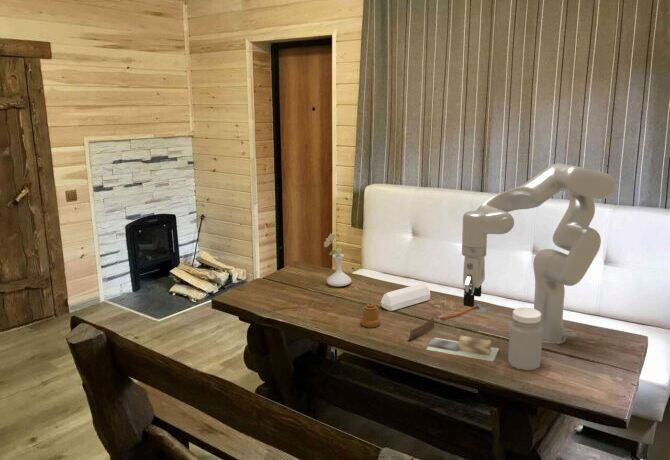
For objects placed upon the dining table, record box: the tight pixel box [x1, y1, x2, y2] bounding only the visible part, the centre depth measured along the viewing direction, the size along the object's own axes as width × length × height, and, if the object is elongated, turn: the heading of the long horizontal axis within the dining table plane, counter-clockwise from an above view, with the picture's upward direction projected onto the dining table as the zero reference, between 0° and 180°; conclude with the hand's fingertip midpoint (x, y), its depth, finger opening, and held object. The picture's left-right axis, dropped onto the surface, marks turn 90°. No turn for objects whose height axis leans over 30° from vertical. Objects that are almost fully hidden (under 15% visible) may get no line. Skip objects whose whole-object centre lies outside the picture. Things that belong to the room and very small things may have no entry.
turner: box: [427, 335, 492, 356], centre depth 186 cm, size 20×5×4 cm, turn 63°
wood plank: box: [407, 317, 435, 341], centre depth 198 cm, size 15×2×5 cm, turn 137°
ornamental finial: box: [360, 303, 381, 329], centre depth 209 cm, size 8×8×8 cm
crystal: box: [380, 282, 431, 312], centre depth 229 cm, size 7×7×24 cm
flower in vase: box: [323, 231, 352, 287], centre depth 251 cm, size 13×11×25 cm
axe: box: [440, 303, 492, 321], centre depth 216 cm, size 22×6×2 cm, turn 126°
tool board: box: [425, 337, 500, 362], centre depth 186 cm, size 22×10×1 cm, turn 63°
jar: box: [507, 306, 543, 371], centre depth 174 cm, size 10×10×18 cm
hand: (472, 300), depth 181 cm, fingers open, 9 cm apart
